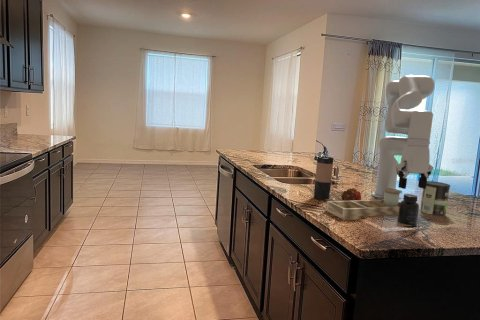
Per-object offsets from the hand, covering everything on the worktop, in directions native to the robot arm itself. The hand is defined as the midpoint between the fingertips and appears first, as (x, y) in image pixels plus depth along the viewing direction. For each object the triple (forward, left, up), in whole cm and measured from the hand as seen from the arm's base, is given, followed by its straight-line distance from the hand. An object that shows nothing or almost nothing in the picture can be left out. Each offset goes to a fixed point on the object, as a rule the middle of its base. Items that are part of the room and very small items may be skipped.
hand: (412, 188), depth 138 cm
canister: (-6, -16, -14) cm, 22 cm away
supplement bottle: (0, 0, -15) cm, 15 cm away
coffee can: (-25, -11, -15) cm, 32 cm away
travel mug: (+12, -42, -15) cm, 47 cm away
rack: (+5, -16, -15) cm, 23 cm away
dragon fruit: (+4, -30, -15) cm, 34 cm away
